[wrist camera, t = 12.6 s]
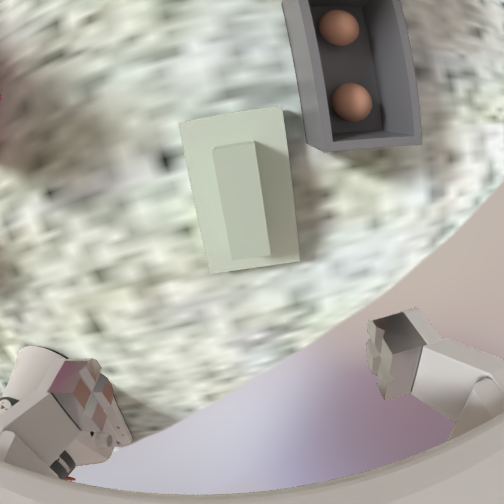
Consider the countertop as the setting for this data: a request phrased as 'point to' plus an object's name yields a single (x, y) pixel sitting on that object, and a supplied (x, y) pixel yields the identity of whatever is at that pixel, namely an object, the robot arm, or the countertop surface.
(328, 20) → the ball
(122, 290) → the countertop surface
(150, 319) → the countertop surface
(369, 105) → the ball
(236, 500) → the robot arm
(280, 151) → the lid
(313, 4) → the box
